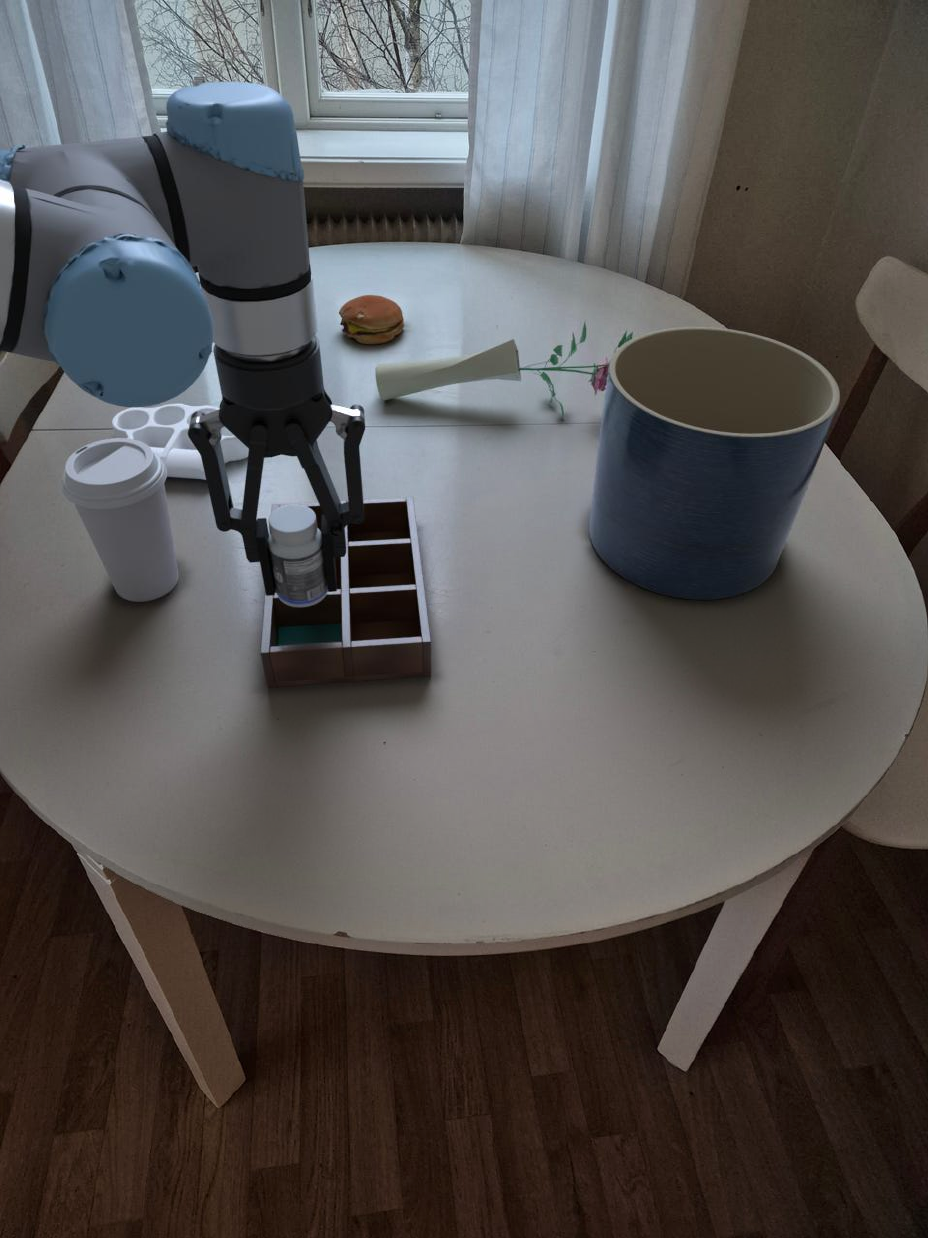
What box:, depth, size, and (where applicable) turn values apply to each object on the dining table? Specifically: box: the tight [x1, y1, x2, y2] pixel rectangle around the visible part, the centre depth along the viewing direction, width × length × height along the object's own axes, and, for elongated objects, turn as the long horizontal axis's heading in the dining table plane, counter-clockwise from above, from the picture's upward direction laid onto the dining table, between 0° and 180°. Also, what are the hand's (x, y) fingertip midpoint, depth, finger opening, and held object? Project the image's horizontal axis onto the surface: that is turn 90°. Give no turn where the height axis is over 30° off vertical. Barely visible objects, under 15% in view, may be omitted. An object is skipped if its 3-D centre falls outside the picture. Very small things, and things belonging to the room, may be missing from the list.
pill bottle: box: [268, 504, 328, 607], centre depth 75 cm, size 5×5×8 cm
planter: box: [588, 326, 841, 601], centre depth 91 cm, size 22×22×20 cm
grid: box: [259, 496, 432, 688], centre depth 88 cm, size 15×23×5 cm
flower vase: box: [375, 321, 634, 421], centre depth 116 cm, size 12×12×35 cm
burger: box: [338, 294, 405, 345], centre depth 133 cm, size 10×9×5 cm
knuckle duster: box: [111, 402, 249, 481], centre depth 108 cm, size 3×18×15 cm
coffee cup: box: [61, 437, 180, 603], centre depth 86 cm, size 10×10×15 cm
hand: (301, 583), depth 77 cm, fingers closed on pill bottle, 5 cm apart
